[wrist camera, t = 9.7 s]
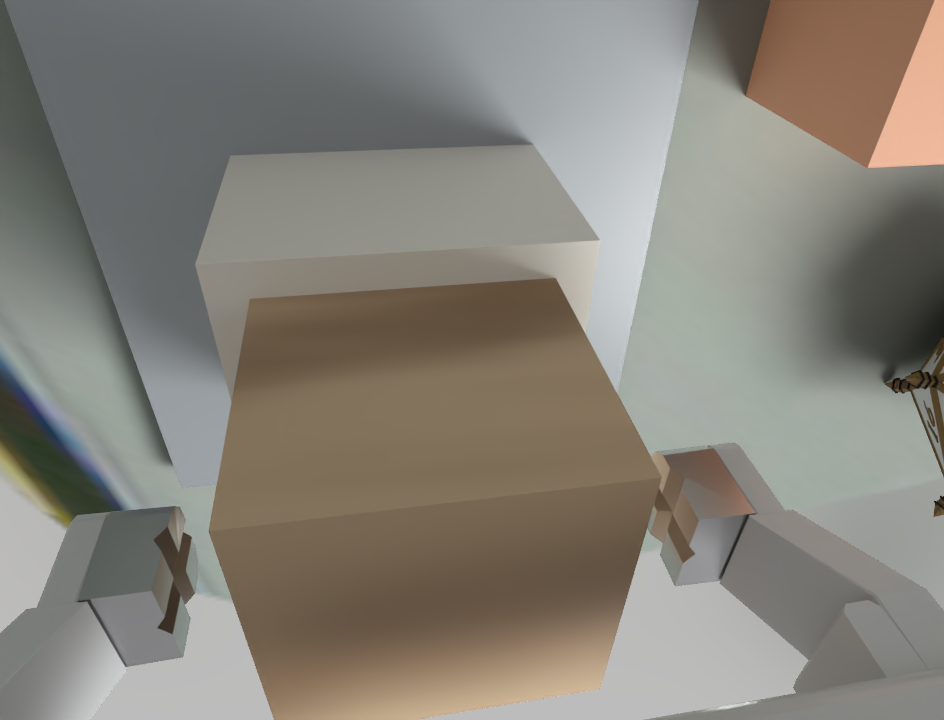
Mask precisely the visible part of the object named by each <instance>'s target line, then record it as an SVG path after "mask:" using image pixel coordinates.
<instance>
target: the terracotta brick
mask: <svg viewBox="0 0 944 720" xmlns="http://www.w3.org/2000/svg"><path fill="white" fill-rule="evenodd" d="M746 97H748V98H750V99H751V100H753V101H755V102H757V103H758V104H760V105H762V106H763V107H765V108H767V109H768V110H770V111H772V112H773V113H775V114H777V115H779V116H780V117H782V118H784V119H785V120H787V121H789V122H790V123H792V124H794V125H796V126H797V127H799V128H801V129H802V130H804V131H806V132H807V133H809V134H811V135H812V136H814V137H816V138H818V139H819V140H821V141H823V142H824V143H826V144H828V145H829V146H831V147H833V148H834V149H836V150H838V151H840V152H841V153H843V154H845V155H846V156H848V157H850V158H851V159H853V160H855V161H857V162H858V163H860V164H862V165H863V166H865V167H867V168H877V167H897V166H917V165H937V164H944V0H771V2H770V5H769V9H768V13H767V17H766V21H765V24H764V28H763V32H762V36H761V39H760V43H759V47H758V51H757V54H756V58H755V62H754V66H753V70H752V73H751V77H750V81H749V85H748V88H747V92H746Z"/></svg>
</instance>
